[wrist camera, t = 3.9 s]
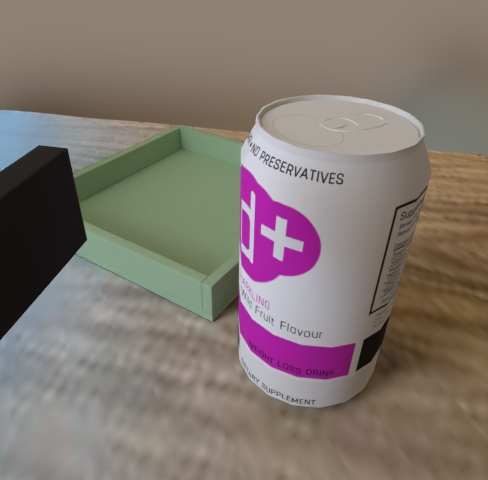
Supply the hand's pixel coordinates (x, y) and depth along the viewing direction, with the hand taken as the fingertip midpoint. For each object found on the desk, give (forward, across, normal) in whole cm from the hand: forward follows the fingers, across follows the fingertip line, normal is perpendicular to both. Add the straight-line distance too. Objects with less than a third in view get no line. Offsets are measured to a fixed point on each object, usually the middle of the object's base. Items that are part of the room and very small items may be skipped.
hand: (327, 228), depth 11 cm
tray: (+24, -12, -16) cm, 31 cm away
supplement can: (+10, 0, -16) cm, 19 cm away
